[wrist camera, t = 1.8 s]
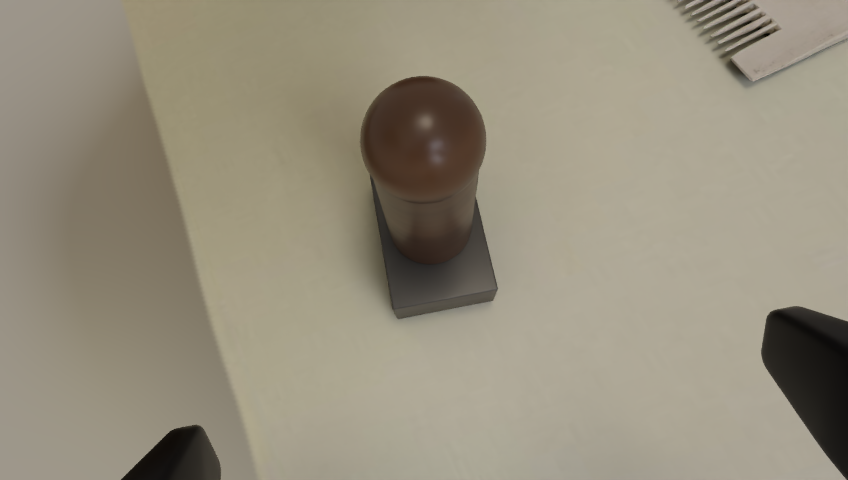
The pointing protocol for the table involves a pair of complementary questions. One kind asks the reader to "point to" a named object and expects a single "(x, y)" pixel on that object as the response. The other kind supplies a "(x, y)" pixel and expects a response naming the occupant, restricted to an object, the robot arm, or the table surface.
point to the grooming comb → (779, 30)
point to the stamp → (428, 194)
